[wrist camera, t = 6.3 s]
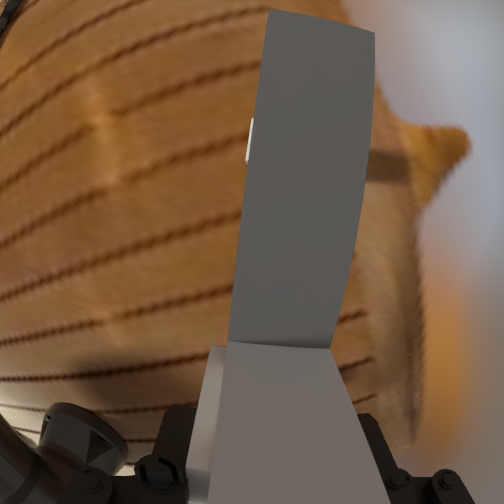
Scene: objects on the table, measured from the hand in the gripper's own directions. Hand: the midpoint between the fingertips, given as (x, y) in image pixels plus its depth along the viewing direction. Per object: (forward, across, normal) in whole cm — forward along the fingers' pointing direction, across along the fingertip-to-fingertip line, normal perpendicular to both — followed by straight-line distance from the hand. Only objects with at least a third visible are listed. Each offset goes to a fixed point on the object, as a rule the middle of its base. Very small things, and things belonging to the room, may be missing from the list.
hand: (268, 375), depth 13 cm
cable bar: (+2, 0, 0) cm, 2 cm away
